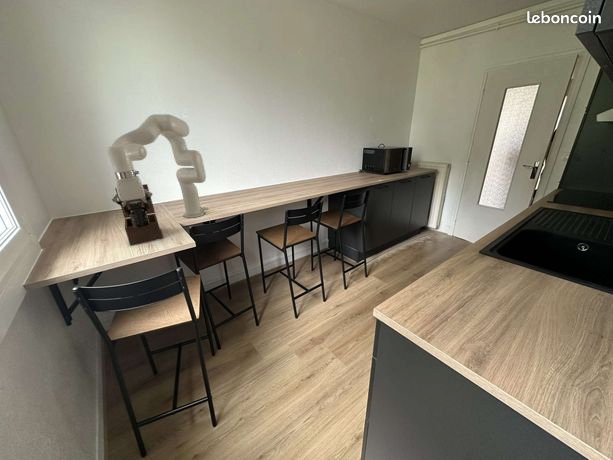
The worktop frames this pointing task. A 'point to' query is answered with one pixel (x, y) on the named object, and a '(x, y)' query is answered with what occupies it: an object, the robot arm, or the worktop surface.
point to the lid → (150, 204)
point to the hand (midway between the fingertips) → (137, 211)
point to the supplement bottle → (138, 214)
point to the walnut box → (143, 231)
